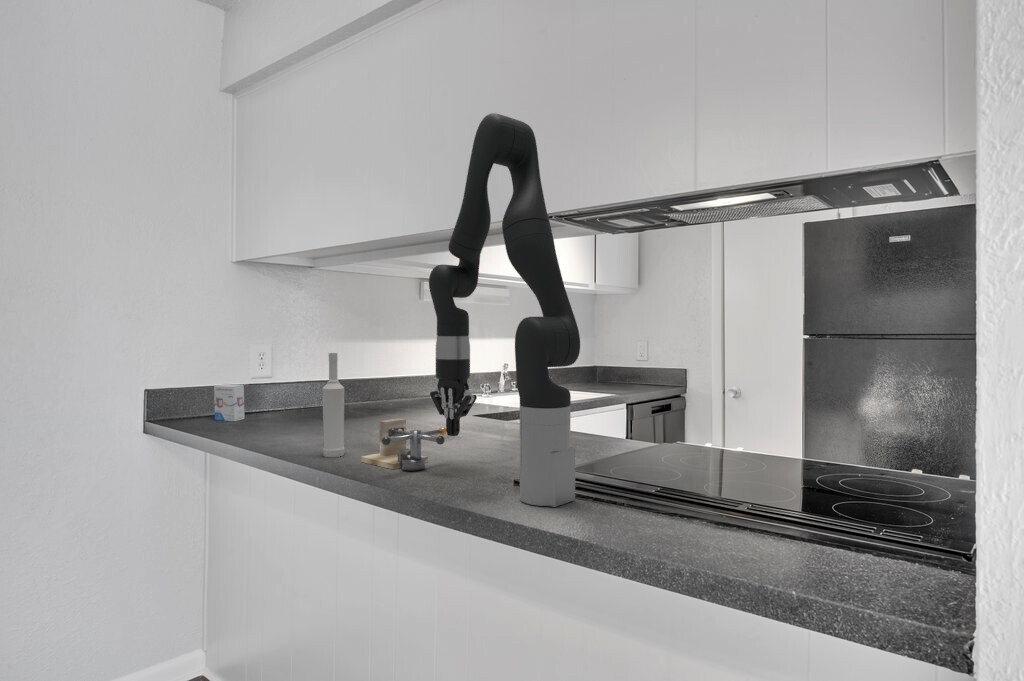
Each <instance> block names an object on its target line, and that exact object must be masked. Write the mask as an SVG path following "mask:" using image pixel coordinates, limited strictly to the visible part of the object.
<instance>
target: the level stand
mask: <svg viewBox="0 0 1024 681" xmlns="http://www.w3.org/2000/svg"><path fill="white" fill-rule="evenodd" d="M378 422H379V429H378V431H379V436H378V437H379V452H378V453H373V454H368V455H362V456H360V462H361V463H365V464H369V465H371V466H372V465H374V466H376V465H377V467H381V468H386V469H388V470H389V469H390V470H393V469H394V470H397V469H402V459H403V458H406V457H410V448H407V440H403V441H397V442H391V443H390V444H389V445H383V444H382V439H383V438H384V437H389V438H392V437H398V436H401V435H394V436H391V435H390V434H389V429H391V428H395V429H396V430H398V431H404V432H407V419H406V418H392V419H386V420H384V419H383V420H379V421H378ZM421 457H423V458H425V464H427V463H429V457H428V456H426V455H421Z"/></svg>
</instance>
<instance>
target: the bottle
mask: <svg viewBox="0 0 1024 681" xmlns="http://www.w3.org/2000/svg"><path fill="white" fill-rule="evenodd" d="M338 358H339V357H338V352H328V380H327V383H326V384H325V385H323V387H322V388H321V389H322V390H321V394H322V419H323V420H322V424H323V425H322V426H323V427H322V428H323V448H322V455H323V457H325V458H339V457H340V456H341V457H343V456H344V455H345V453H346V452H345V450H346V447H345V446H344V445H345V444H344V443H345V442H344V441H345V439H344V438H345V434H344V433H345V387H344V386H343V384H341V383H340V380H338V379H339V378H338Z"/></svg>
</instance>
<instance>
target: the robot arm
mask: <svg viewBox="0 0 1024 681" xmlns="http://www.w3.org/2000/svg"><path fill="white" fill-rule="evenodd" d="M476 129H477V130H476V132H475V135H474V139H473V143H472V149H471V154H470V158H469V164H468V169H467V175H466V179H465V180H466V181H465V185H464V186H465V187H464V191H463V197H462V203H461V206H460V210H459V213H458V217H457V219H456V222H455V225H454V229H453V231H452V234H451V237H450V240H449V243H448V251H449V254H451V255H452V256H453V257H456V258H457V259H459V262H458V265H453V264H438V265H435V266H434V267H433V268H432V270H431V271H430V273H429V279H428V287H429V293H430V297H431V299H432V300H431V301H432V304H433V308H434V312H435V316H436V342H435V378H436V379H438V381H437V385H436V387H437V388H436V389H435V390H433V391H430V393H429V396H430V397H431V399H432V401H433V403H434V406H435V409H436V410H437V412H438V414H439V415H440V416H443V417H444V419H445V428H446V435H447V436H448V437H456V436H457V437H458V435H459V434H460V431H461V430H460V427H461V426H460V423H461V420H460V419H461V418H463V417H466V416H467V415H469V414H468V413H469V412H470V410H471V409H472V407H473V405H474V404H475V402H476V401H477V399H478V397H477V394H472V393H471V392H470V390H469V389H470V386H469V384H468V380H469V378H470V377H471V343H470V318H469V317H470V315H469V312H468V311H467V310H465V309H462V308H460V307H458V306H457V305H456V303H455V300H454V298H458V299H465V298H469V297H470V296H471V295H473V293H474V292H475V291H476V288H477V286H478V284H479V274H480V273H479V272H480V262H481V253H482V251H483V249H484V245H485V242H486V241H487V237H488V234H489V231H490V228H491V218H492V216H491V208H490V207H491V206H490V201H489V195H488V191H489V190H488V183H489V182H488V181H489V178H490V173H491V171H492V168H493V167H494V164H496V165H498V166H502V167H506V168H507V169H508V170H509V174H510V177H511V182H512V195H511V198H510V201H509V203H508V205H507V207H506V210H505V211H504V215H503V217H502V218H503V219H502V223H501V228H502V236H503V241H504V246H505V250H506V255H507V257H508V261H509V262H510V265H511V266H512V267H513V269H514V270H515V271H516V273H517V274H518V275H519V276H520V278H521V279H522V280H523V281H524V282H525V283H526V285H527V286H528V287H529V289H530V290H531V291H532V293H533V294H534V296H535V298H536V300H537V302H538V304H539V306H540V309H541V313H542V316H528V317H527V316H526V317H525V318H523V319H521V321H520V322H519V324H518V326H517V327H516V330H515V336H514V356H515V357H514V358H515V371H516V372H515V373H516V374H515V375H516V376H515V377H516V378H515V379H516V388H517V392H518V396H519V500H520V501H521V502H522V503H525V504H526V505H533V506H541V507H543V506H544V507H552V508H556V507H559V506H561V505H565V504H567V503H570V502H573V501H575V500H576V449H575V447H573V446H571V404H572V403H571V402H572V400H571V399H572V398H571V391H570V390H569V389H568V388H566V387H563V386H561V385H559V384H556V383H554V382H553V380H551V378H550V374H549V368H563V367H569V366H572V365H573V364H575V363H576V362H577V360H578V358H579V356H580V352H581V338H580V337H581V336H580V331H579V327H578V324H577V320H576V317H575V313H574V311H573V309H572V308H573V307H572V304H571V303H570V299H569V297H568V296H569V295H568V293H567V290H566V287H565V285H564V280H563V276H562V273H561V268H560V264H559V261H558V260H559V259H558V256H557V251H556V245H555V241H554V240H555V239H554V236H553V231H552V227H551V222H550V218H549V214H548V212H547V206H546V202H545V197H544V196H545V195H544V190H543V186H542V185H543V184H542V180H541V173H540V164H539V154H538V146H537V139H536V136H535V133H534V131H533V129H532V127H531V126H530V125H529V124H527V123H526V122H524V121H523V120H519V119H516V118H513V117H509V116H507V115H502V114H500V113H496V112H493V113H492V112H491V113H488V114H487V115H485V116H484V117H483V118H482V119H481V121H480V123H479V125H478V127H477V128H476Z"/></svg>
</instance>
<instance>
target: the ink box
mask: <svg viewBox="0 0 1024 681" xmlns="http://www.w3.org/2000/svg"><path fill="white" fill-rule="evenodd" d="M213 386H214V387H213V394H214V396H213V398H214V420H215V421H225V422H228V421H229V422H237V421H241V420H245V391H244V390H245V385H243V384H239V383H238V384H237V383H236V384H235V383H234V384H233V383H222V384H217V385H213Z"/></svg>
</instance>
